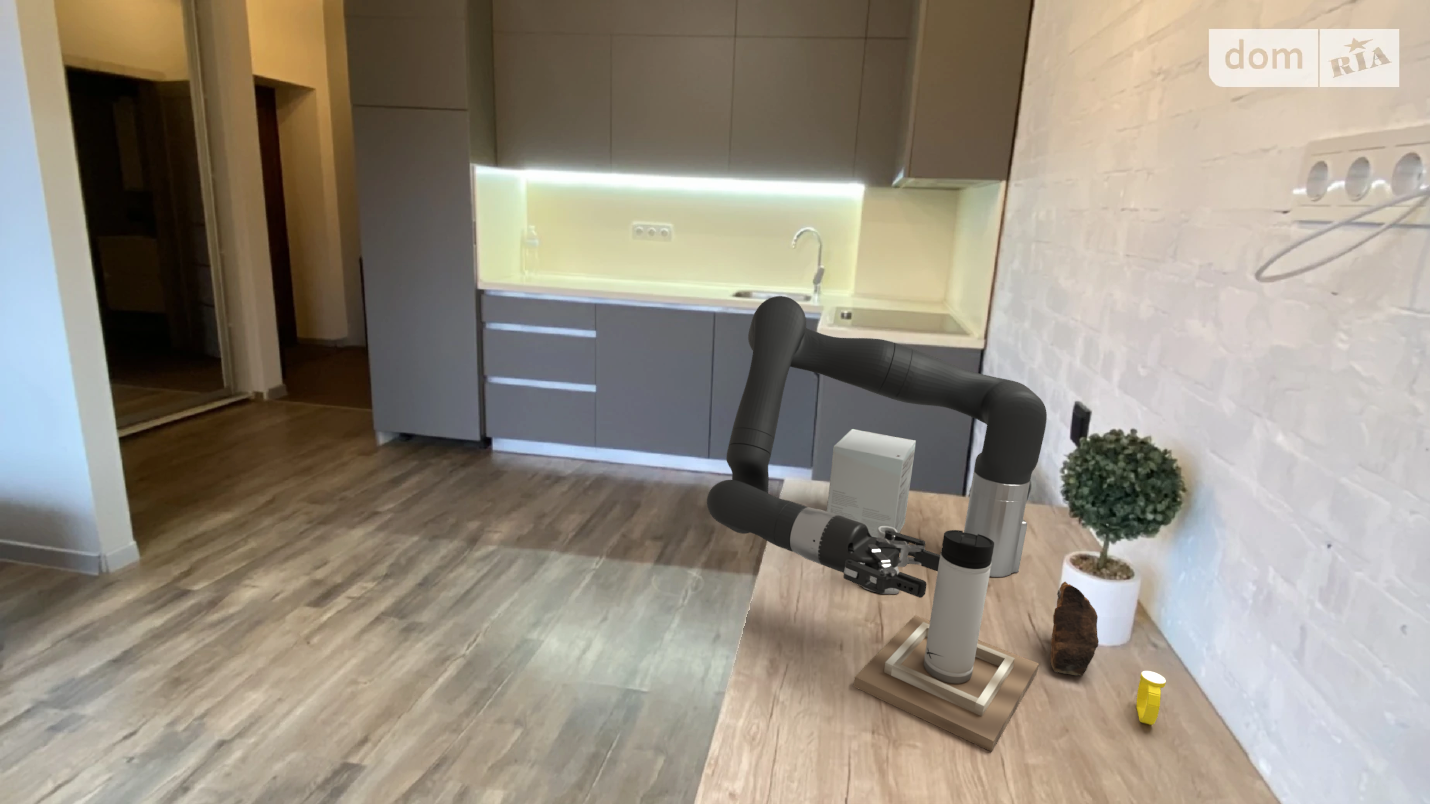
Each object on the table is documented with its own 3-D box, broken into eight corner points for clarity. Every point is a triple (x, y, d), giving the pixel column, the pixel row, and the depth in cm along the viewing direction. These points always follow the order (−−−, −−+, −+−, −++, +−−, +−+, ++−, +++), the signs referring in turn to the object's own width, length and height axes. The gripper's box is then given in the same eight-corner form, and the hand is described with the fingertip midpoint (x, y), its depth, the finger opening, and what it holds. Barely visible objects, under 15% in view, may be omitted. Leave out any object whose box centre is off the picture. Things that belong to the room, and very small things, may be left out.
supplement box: (906, 522, 149) (918, 440, 144) (891, 548, 138) (904, 459, 133) (842, 507, 154) (851, 427, 150) (823, 531, 143) (832, 445, 138)
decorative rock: (1047, 630, 114) (1060, 567, 111) (1091, 642, 111) (1105, 578, 108) (1043, 672, 103) (1057, 603, 100) (1091, 687, 101) (1107, 616, 98)
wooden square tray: (913, 623, 113) (916, 606, 112) (1036, 672, 103) (1040, 654, 102) (853, 686, 98) (856, 666, 97) (991, 751, 87) (995, 730, 87)
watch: (1128, 702, 99) (1137, 661, 97) (1152, 708, 98) (1161, 667, 96) (1135, 727, 93) (1144, 684, 92) (1160, 734, 92) (1170, 691, 91)
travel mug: (920, 677, 98) (941, 539, 92) (926, 651, 104) (946, 519, 98) (969, 691, 96) (994, 550, 90) (973, 663, 102) (996, 529, 96)
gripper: (806, 531, 101) (920, 571, 92) (854, 501, 112) (960, 534, 103) (801, 580, 103) (912, 625, 94) (848, 546, 114) (952, 583, 105)
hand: (937, 577), depth 99 cm, fingers open, 8 cm apart
